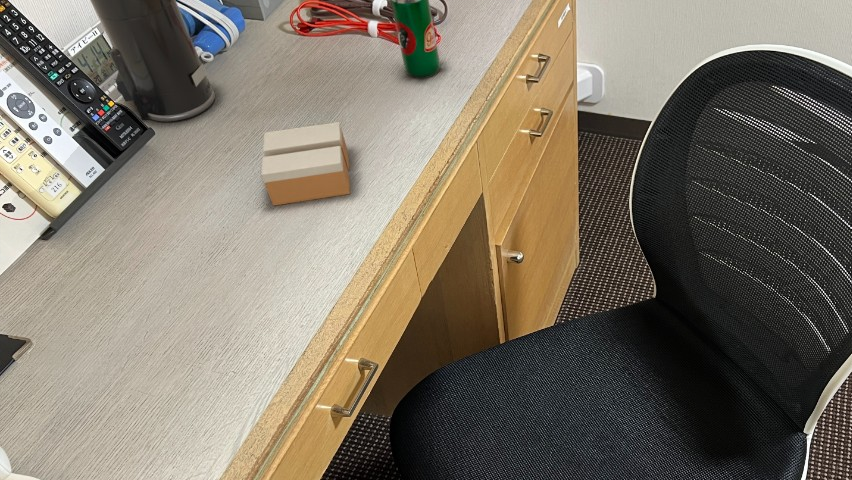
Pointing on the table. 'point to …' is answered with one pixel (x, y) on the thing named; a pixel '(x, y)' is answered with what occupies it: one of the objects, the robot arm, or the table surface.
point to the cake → (305, 140)
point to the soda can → (416, 37)
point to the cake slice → (305, 175)
